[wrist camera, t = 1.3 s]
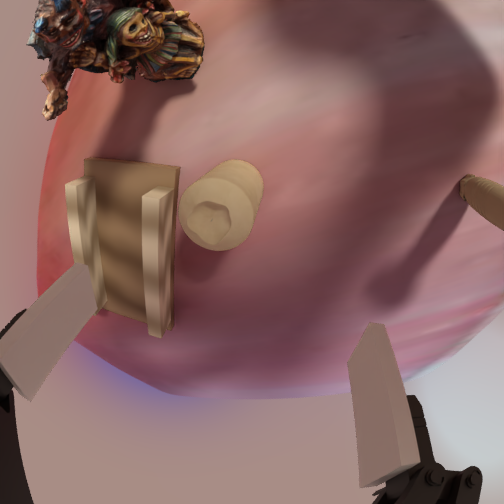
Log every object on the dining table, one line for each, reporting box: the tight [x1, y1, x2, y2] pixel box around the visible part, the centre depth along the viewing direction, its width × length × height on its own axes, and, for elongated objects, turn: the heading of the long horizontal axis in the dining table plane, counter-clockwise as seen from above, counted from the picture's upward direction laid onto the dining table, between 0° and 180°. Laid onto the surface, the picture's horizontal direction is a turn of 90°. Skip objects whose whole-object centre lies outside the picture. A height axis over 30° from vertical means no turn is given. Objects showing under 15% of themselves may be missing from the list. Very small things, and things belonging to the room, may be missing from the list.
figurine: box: [26, 0, 205, 121], centre depth 13 cm, size 11×9×18 cm
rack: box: [65, 157, 180, 339], centre depth 29 cm, size 22×12×5 cm, turn 170°
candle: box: [178, 160, 264, 251], centre depth 22 cm, size 6×6×10 cm
